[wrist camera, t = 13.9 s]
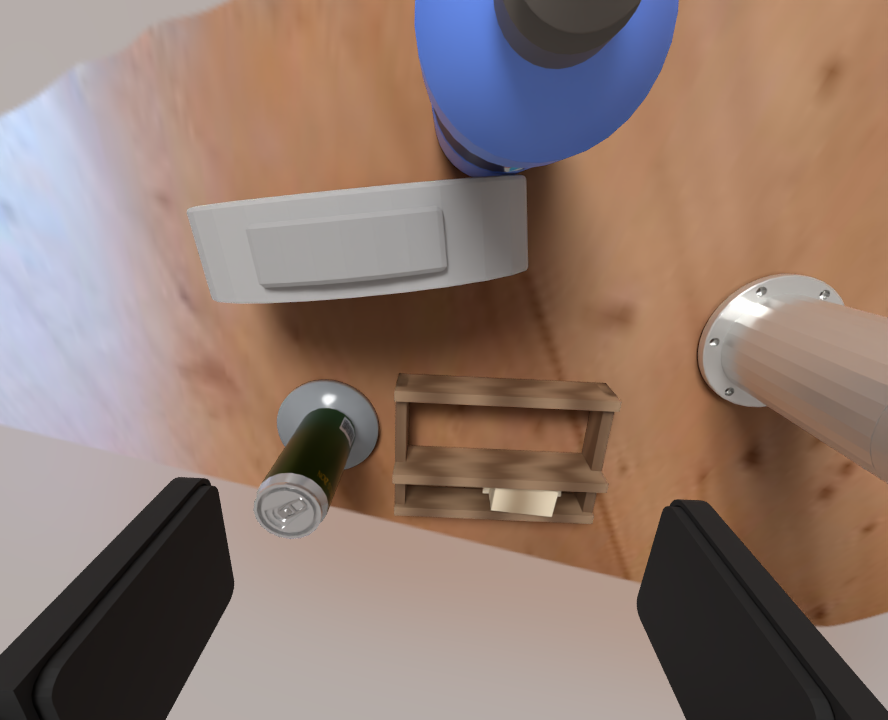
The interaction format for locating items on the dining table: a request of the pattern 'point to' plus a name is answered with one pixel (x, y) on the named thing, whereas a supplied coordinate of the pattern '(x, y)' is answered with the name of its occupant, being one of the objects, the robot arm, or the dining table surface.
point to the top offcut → (523, 501)
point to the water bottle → (536, 75)
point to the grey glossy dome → (334, 397)
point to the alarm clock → (363, 240)
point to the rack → (497, 464)
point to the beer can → (305, 475)
